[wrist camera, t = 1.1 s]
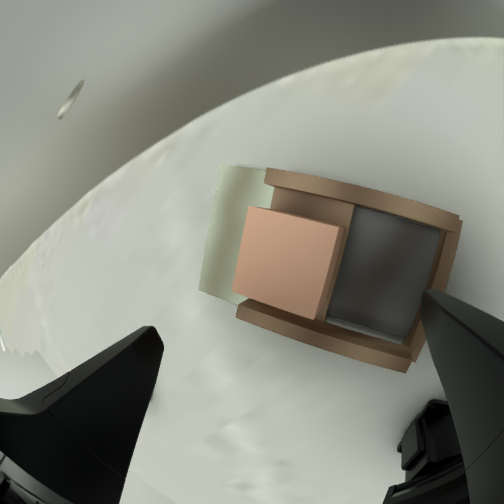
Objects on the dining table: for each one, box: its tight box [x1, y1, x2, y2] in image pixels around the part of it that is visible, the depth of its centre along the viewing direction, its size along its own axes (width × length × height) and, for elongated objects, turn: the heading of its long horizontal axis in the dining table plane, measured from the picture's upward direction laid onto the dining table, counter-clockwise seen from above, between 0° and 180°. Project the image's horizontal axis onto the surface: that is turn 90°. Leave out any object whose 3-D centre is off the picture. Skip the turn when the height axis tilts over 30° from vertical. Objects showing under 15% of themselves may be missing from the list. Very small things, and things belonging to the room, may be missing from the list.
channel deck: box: [199, 164, 463, 373], centre depth 18 cm, size 18×10×4 cm, turn 77°
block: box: [232, 206, 345, 320], centre depth 16 cm, size 5×5×4 cm
